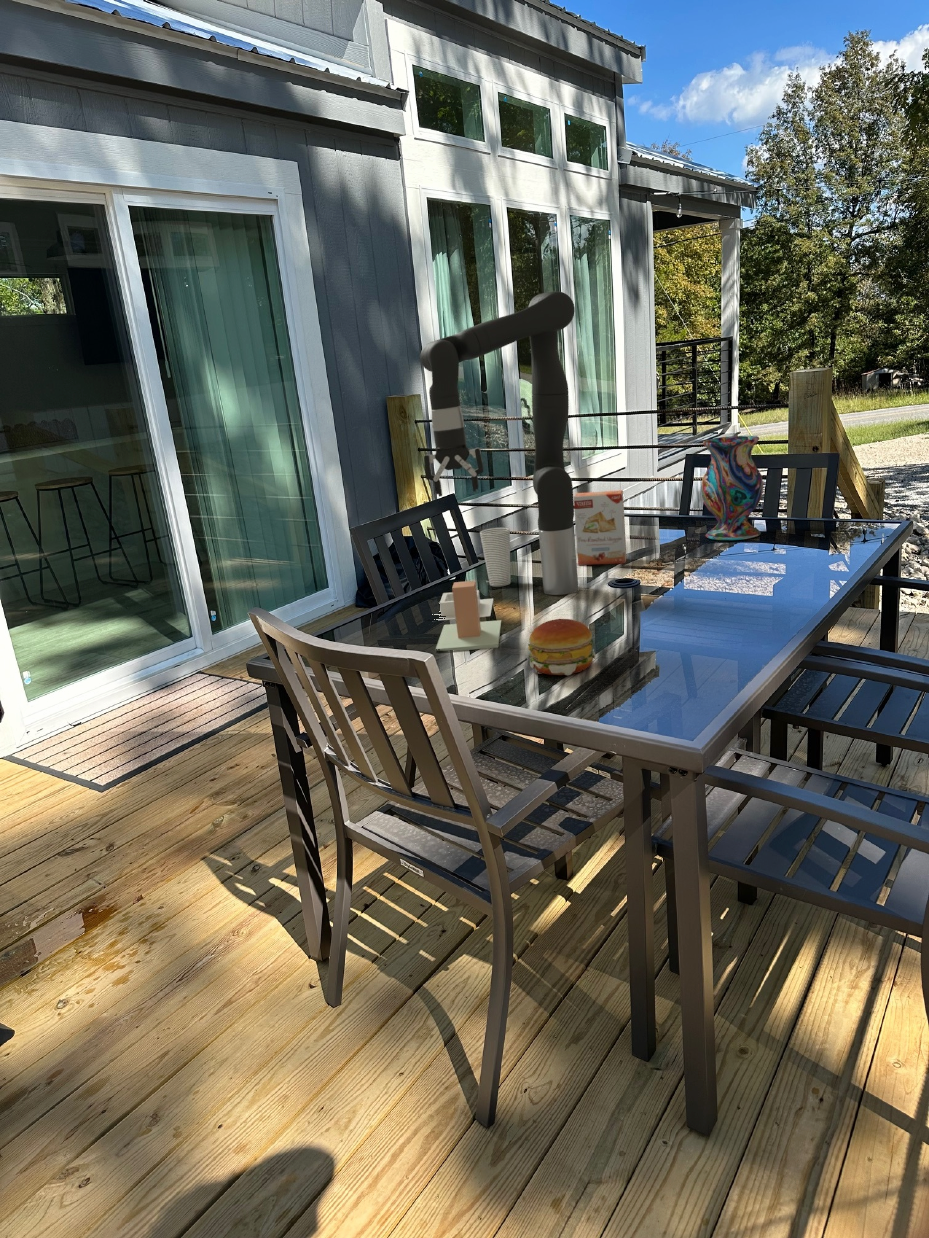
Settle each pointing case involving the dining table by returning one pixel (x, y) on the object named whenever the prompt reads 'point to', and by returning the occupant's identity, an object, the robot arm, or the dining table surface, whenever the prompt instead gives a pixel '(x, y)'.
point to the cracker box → (600, 527)
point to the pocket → (449, 610)
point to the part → (466, 609)
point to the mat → (485, 640)
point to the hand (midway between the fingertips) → (457, 493)
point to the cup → (497, 555)
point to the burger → (561, 647)
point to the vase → (732, 487)
